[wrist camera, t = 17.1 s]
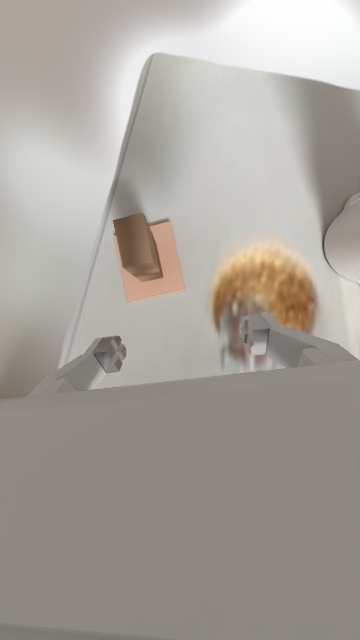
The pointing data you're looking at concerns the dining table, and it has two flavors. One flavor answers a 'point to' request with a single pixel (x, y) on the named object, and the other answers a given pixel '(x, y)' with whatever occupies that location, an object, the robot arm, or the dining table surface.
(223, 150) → the dining table surface
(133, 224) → the card box
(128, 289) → the mat
